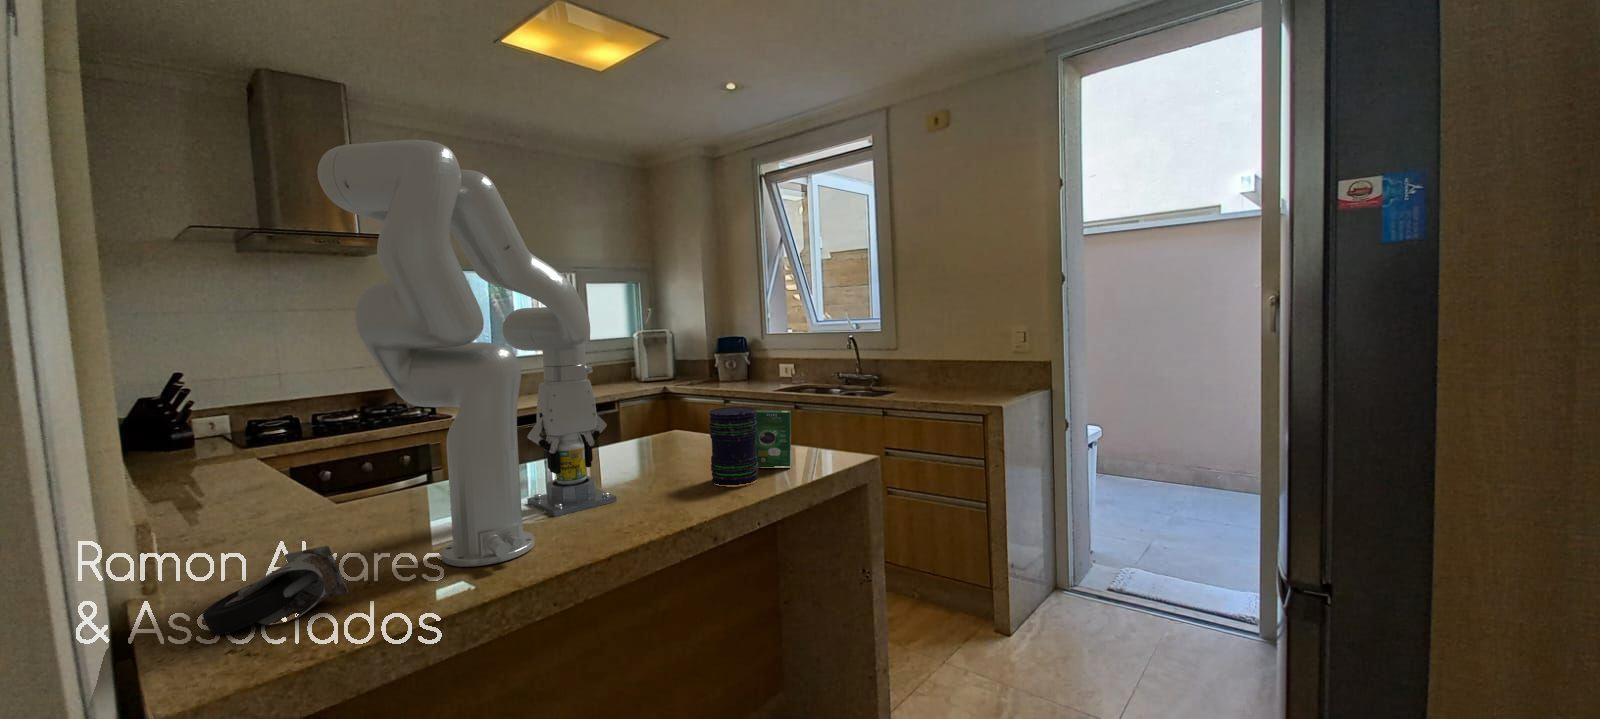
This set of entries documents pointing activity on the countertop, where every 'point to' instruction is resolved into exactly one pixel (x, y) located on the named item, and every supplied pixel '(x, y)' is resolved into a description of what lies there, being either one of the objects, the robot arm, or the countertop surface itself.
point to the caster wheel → (279, 592)
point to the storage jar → (733, 445)
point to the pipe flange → (570, 497)
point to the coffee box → (773, 438)
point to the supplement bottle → (571, 459)
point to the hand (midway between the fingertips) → (570, 468)
